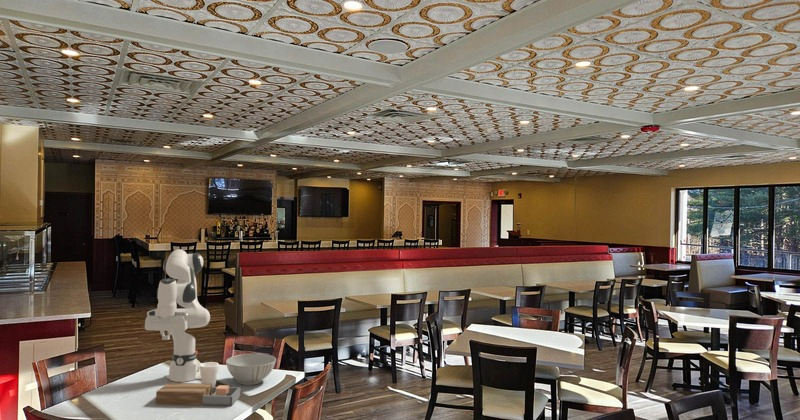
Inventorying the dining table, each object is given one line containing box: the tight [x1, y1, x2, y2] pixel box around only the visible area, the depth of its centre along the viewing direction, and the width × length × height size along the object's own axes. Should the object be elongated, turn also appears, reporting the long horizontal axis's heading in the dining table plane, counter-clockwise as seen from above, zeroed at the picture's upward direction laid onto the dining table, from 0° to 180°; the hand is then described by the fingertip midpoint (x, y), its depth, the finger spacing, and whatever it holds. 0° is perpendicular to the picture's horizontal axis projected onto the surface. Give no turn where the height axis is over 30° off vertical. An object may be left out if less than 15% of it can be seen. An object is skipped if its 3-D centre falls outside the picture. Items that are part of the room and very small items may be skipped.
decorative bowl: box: [225, 353, 277, 386], centre depth 294 cm, size 27×27×12 cm
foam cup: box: [200, 361, 220, 387], centre depth 279 cm, size 10×9×13 cm
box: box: [202, 386, 241, 407], centre depth 263 cm, size 14×14×4 cm
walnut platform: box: [155, 382, 212, 406], centre depth 263 cm, size 14×22×6 cm, turn 90°
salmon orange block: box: [216, 384, 230, 395], centre depth 263 cm, size 5×5×3 cm
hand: (165, 339), depth 265 cm, fingers closed
